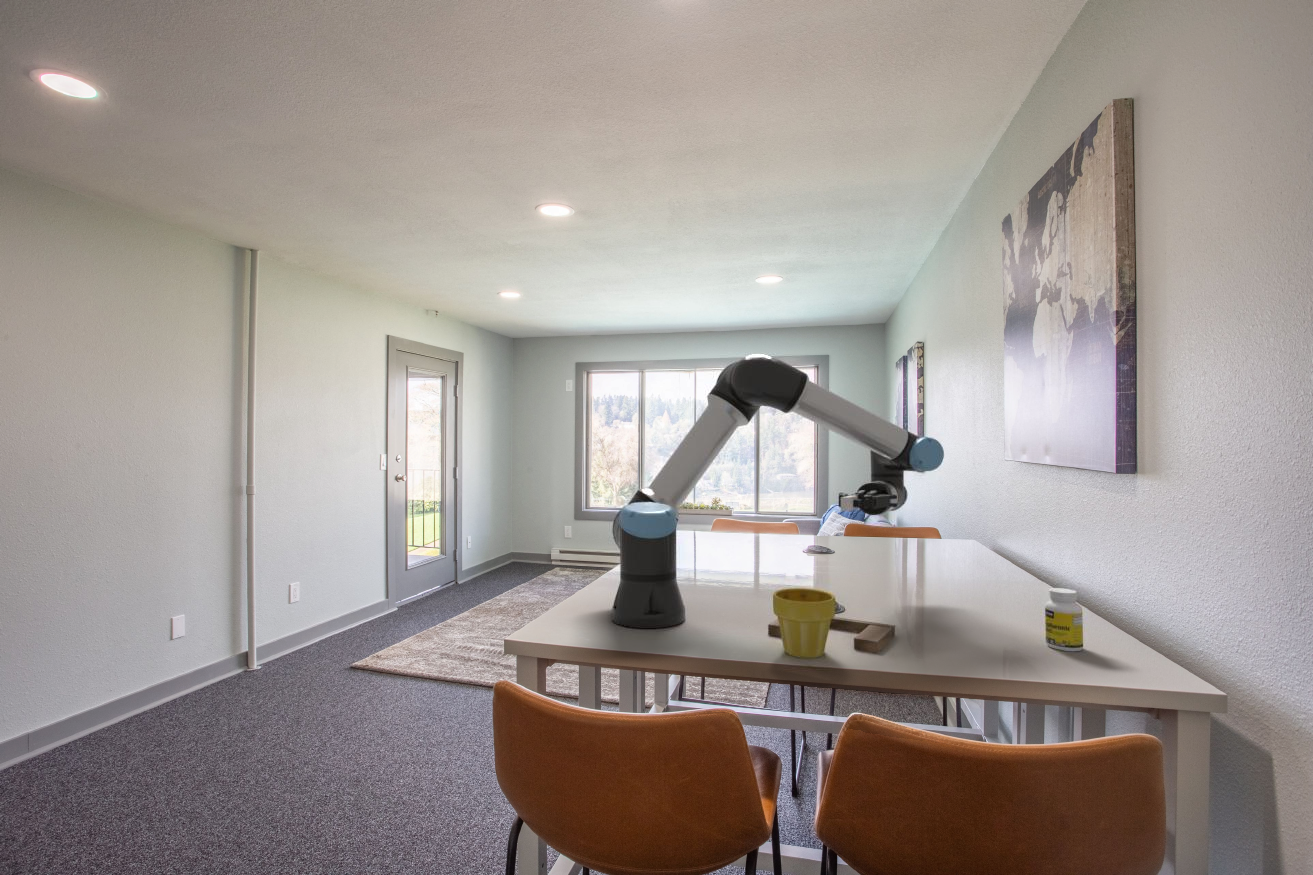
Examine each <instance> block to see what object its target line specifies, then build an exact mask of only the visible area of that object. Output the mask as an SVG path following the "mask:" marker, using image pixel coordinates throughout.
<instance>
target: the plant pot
mask: <svg viewBox="0 0 1313 875" xmlns="http://www.w3.org/2000/svg"><path fill="white" fill-rule="evenodd" d="M772 608H773V609H772V610H773V614H774V615H775V616H776V617H777V619H778V622H779V627H780V631H781V636H780V637H781V641H782V646H783V650H784V653H786V654H787V655H790V656H793V657H797V658H801V659H803V658H804V659H813V658H814V659H815V658H818V657H819V658H820V657H821V656H823V655H824V653H825V649H826V645H827V640H828V636H829V630H830V622H831V619H832V618H834V617H836V596H835V595H834V594H833V593H831V592H828V591H825V590H821V589H814V588H806V587H804V588H803V587H801V588H800V587H792V588H790V587H789V588H782V589H778V590H776V591H775V592H773V594H772Z"/></svg>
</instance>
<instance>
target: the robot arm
mask: <svg viewBox="0 0 1313 875" xmlns="http://www.w3.org/2000/svg"><path fill="white" fill-rule="evenodd" d="M809 378H810V377H809V375H808V373H806V372H803V371H802V370H800V369H799V368H796V367H794V366H792V365H791V364H788V363H786V362H784V361H782V360H780V359H778V358H776V357H773V356H770V355H767V354H763V353H753V354H749V355H746V356H745V357H743V358H741V359H739V360H738V361H735V362H732V363H730V364H729V365H727V366H725V368H724V369H722V371H721V372H720V373H719V375H718V377H717V379H716V382H715V385H714V386H713V387H712V389H711V390H710V392H709V393H708V394H707V396H706V399H707V406H706V408H705V410H704V411H703V412H702V413H701V415H699V418H698V419H697V421H696V422H695V423H694V424H693V426H692V427H691V429H689V431H688V432H687V434H686V435H685V437H684V438H683V439H682V441H681V442H680V443H679V444H678V446H677V447H676V449H675V450H674V451H673V453H672V454H671V455H670V457H669V458H668V460H667V461H666V463H665V464H664V465H663V466H662V467H661V469H660V471H659V472H658V473H657V475H656V476H655V478H654V479H652V482H651V483H650V485H649V486H647V487H643V488H639V489H637V491H636V492H635V494H634V495H633V496H632V498H631V499H630V500H629V502H628V503H627V504H625V505H623V506H622V507H621V509H619V510H618V512H617V513H616V515H615V517H614V519H613V521H612V529H611V531H612V536H613V537H612V538H613V539H614V540H613V541H614V542H615V545H616V546H617V547H618V549H619V570H620V571H619V573H620V575H619V577H620V579H619V585H618V588H617V591H616V593H615V598H614V601H613V605H612V607H611V621H612V620H613V621H614V622H613V623H615V622H616V623H618V624H617V625H619V624H621V625H620V626H622V625H625V626H624V627H626V626H629V627H628V628H633V627H634V628H635V629H660V628H668V627H673V626H676V625H679V624H681V623H683V622H684V621H685V620H686V606H685V604H684V601H683V597H682V594H681V591H680V590H681V589H680V588H679V584H678V580H677V579H678V578H677V526H678V521H679V520H680V514H679V509H680V508H681V506H682V505H683V503H684V502H685V501H686V499H687V498H688V496H689V495H690V494H691V492H693V489H694V488H695V487H696V485H697V484H698V482H699V481H700V480H701V479H702V478H703V476H704V474H706V471H707V470H708V468H709V467H711V465H712V463H713V462H714V461H715V459H716V457H717V456H718V455H719V454H720V453H721V451H722V449H723V448H724V446H725V445H726V444H727V442H728V440H730V438H731V437H732V435H733V434H734V433H735V431H736V430H737V428H739V427H742V426H743V427H744V426H748V424H749V423H750V422H751V420H752V419H753V417H755V414H757V412H758V411H759V409H761V407H769V408H773V409H776V410H778V411H780V412H783V413H785V414H790V413H792V412H794V414H797V415H800V416H802V417H803V418H806V420H809V421H811V422H813V423H815V424H817V425H819V426H821V427H823V428H825V429H827V430H829V431H831V432H833V433H835V434H837V435H839V436H842V437H844V438H845V439H847V440H849V441H850V442H851V441H852V442H853V443H855V444H858V445H859V446H861V447H864V448H865V449H868V450H869V451H870V481H869V482H866V483H863V484H862V485H861V486H860V487H858V490H856V492H855V493H851V494H850V495H849V494H848V493H844V492H839V493H838V508H840V511H841V512H852V511H856V510H858V509H859V510H860V511H862V512H863V513H864V514H866V515H869V516H883V514H885V513H888V512H894V511H897V510H899V509H900V508H902V507H903V506H904V505H905V504H906V502H907V500H908V495H909V494H908V490H907V488H906V486H905V479H904V477H905V476H904V474H905V472H918V473H925V472H932V471H935V470H937V469H938V468H940V467H941V465H942V463H943V462H944V459H945V452H944V448H943V446H942V444H941V442H939V440H937V439H935V438H933V437H928V436H919V435H916V434H914V433H912V432H910V431H908V430H907V429H904V428H902V427H900V426H898V425H896V424H895V423H892V422H891V421H889V420H886V419H885V418H883V417H880V416H879V415H877V414H875V413H874V412H871V411H869V410H867V409H865V408H864V407H862V406H860V405H857V404H856V403H854V402H852V401H849V400H848V399H846V398H844V397H842V396H840V395H838V394H836V393H835V392H832V391H831V390H828V389H826V388H824V387H822V386H821V385H819V384H816V383H815V382H813V381H812V380H810V379H809ZM616 623H615V624H616Z"/></svg>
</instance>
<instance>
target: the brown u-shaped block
mask: <svg viewBox="0 0 1313 875" xmlns="http://www.w3.org/2000/svg"><path fill="white" fill-rule="evenodd" d="M830 628H831V629H836V630H837V629H838V630H843V631H848V632H849V631H850V632H856V633H858V634H857V635H855V637H853V649H854V650H860V651H866V652H872V653H879V652H880V651H881V650H882V649H884V647H885V646H886V645H887V644H888V643H890V641H891V640H892V639H893V638H894V637H895V636H896V625H894V624H888V623H887V624H886V623H881V622H874V621H873V622H872V621H866V620H860V619H859V620H858V619H854V618H852V619H851V618H845V617H839V616H834V618H832V619H831V622H830V627H829V629H830ZM767 630H768V631H767V633H768V635H772V636H779V637H782V636H781V631H780V627H779V622H778V618H777V619H776V620H773V621H772V622H770V623H768V624H767Z"/></svg>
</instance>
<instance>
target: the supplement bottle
mask: <svg viewBox="0 0 1313 875" xmlns="http://www.w3.org/2000/svg"><path fill="white" fill-rule="evenodd" d="M1048 590H1049V595H1048V596H1049V598H1050V600H1049V601H1046V603H1045V605H1044V617H1045V623H1044V624H1045V644H1046V645H1047V646H1048V647H1049V648H1052V649H1055V650H1057V651H1058V650H1059V651H1063V652H1070V651H1071V652H1072V653H1074V652H1075V651H1076V652H1081V651H1083V649H1084V626H1083V625H1084V621H1083V608H1082V606H1081V605H1080V604H1078V603H1077V600H1078V593H1077V591H1076V590H1074V589H1069V588H1062V587H1051V588H1049V589H1048Z"/></svg>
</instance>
